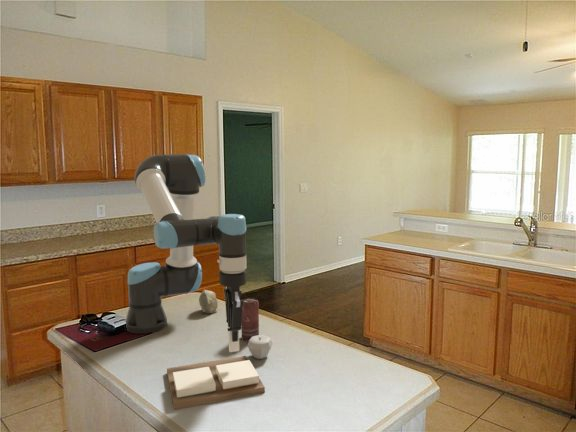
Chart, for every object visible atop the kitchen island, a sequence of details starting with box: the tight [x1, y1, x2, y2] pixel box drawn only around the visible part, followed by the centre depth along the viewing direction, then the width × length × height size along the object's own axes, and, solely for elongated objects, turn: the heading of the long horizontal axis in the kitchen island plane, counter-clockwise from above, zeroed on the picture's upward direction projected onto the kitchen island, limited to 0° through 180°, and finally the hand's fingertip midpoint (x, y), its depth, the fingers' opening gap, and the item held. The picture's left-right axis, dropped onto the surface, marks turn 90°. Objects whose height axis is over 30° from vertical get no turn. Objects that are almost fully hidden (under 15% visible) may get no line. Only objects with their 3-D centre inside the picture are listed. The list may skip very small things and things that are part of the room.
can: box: [240, 297, 260, 342], centre depth 154 cm, size 6×6×14 cm
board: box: [166, 355, 266, 410], centre depth 125 cm, size 20×24×2 cm
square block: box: [173, 367, 216, 398], centre depth 120 cm, size 2×10×10 cm
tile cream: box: [216, 359, 260, 389], centre depth 124 cm, size 2×10×10 cm
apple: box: [247, 334, 273, 360], centre depth 141 cm, size 8×8×7 cm
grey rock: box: [198, 289, 218, 314], centre depth 181 cm, size 9×8×10 cm
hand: (234, 350), depth 126 cm, fingers closed
